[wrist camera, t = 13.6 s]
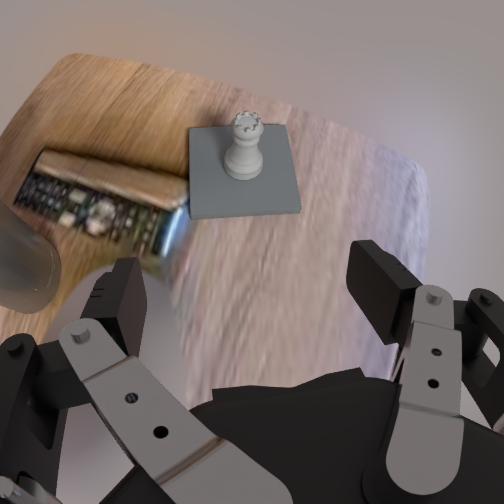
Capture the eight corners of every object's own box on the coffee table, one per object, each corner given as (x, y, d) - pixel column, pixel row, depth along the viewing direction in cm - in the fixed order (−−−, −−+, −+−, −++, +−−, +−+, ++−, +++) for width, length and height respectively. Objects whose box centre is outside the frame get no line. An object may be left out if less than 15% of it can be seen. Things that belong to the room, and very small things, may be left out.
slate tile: (191, 219, 35) (190, 215, 34) (190, 134, 39) (189, 128, 38) (299, 213, 36) (301, 208, 35) (283, 130, 40) (285, 124, 39)
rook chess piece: (263, 152, 37) (272, 106, 30) (260, 184, 36) (270, 140, 28) (226, 148, 37) (227, 101, 30) (220, 180, 36) (220, 135, 28)
